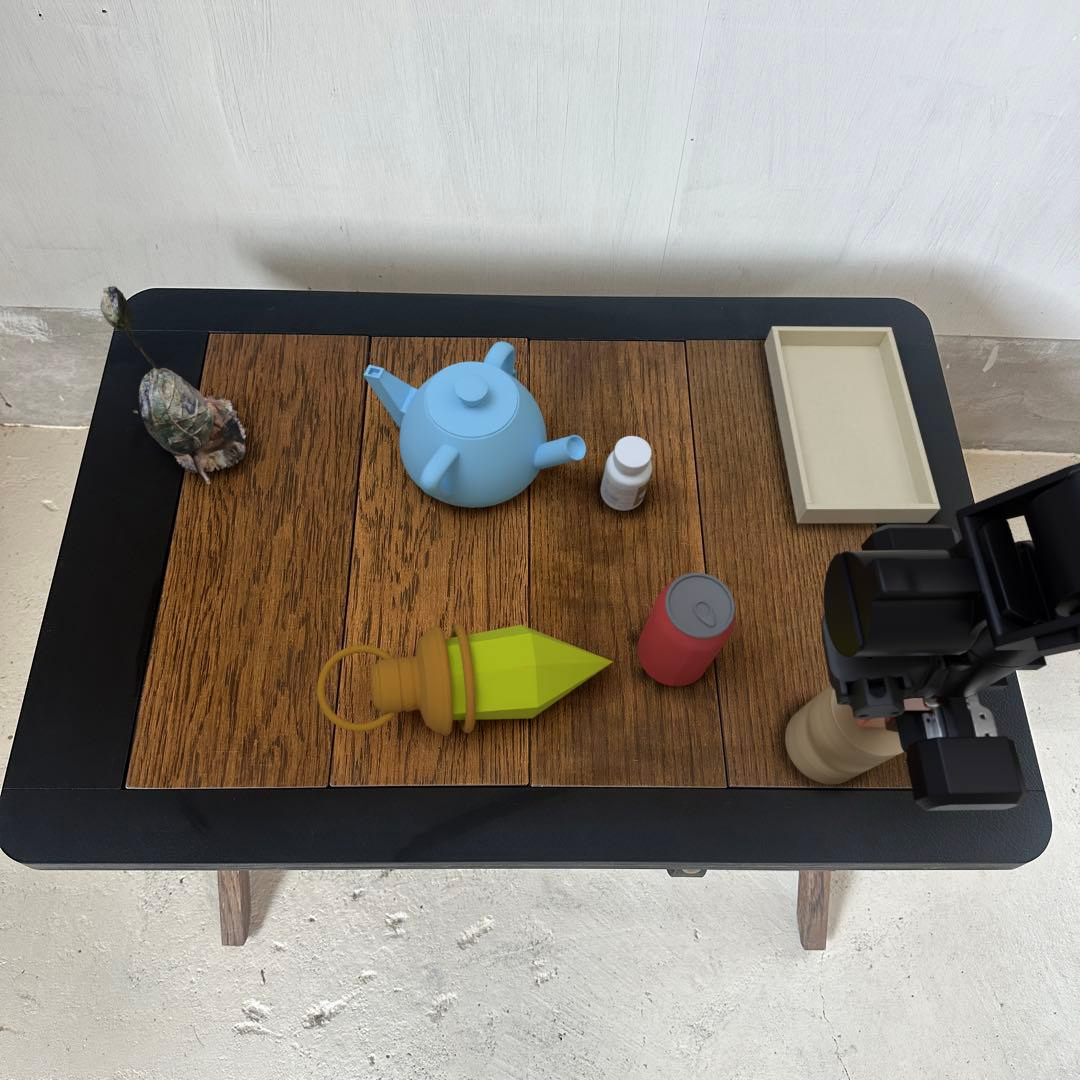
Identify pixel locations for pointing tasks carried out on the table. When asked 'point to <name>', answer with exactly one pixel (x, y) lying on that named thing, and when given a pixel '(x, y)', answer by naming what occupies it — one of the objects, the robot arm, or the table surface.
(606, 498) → the pill bottle
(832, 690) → the pedestal
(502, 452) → the teapot
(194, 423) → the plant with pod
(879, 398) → the beige tray
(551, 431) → the table surface
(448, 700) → the plumb bob
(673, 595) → the beer can
